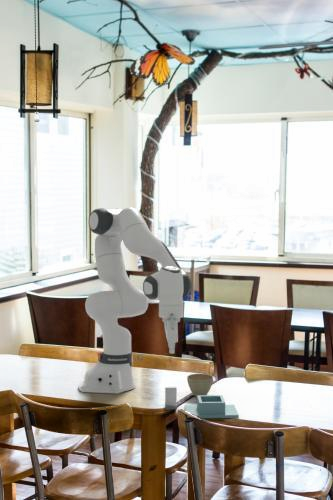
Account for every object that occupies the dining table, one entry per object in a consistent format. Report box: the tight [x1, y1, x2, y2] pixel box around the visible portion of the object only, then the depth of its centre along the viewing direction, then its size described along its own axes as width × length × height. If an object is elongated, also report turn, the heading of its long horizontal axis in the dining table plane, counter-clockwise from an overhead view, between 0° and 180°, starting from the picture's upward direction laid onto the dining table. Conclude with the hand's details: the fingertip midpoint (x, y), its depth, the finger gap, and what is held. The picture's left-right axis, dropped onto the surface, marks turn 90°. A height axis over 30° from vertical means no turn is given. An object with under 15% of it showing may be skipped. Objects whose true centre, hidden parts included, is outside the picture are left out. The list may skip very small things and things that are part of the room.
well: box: [184, 394, 239, 419], centre depth 251 cm, size 18×12×5 cm, turn 92°
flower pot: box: [186, 373, 214, 397], centre depth 273 cm, size 10×10×7 cm
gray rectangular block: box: [164, 386, 178, 411], centre depth 257 cm, size 4×4×8 cm
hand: (171, 350), depth 254 cm, fingers open, 8 cm apart
